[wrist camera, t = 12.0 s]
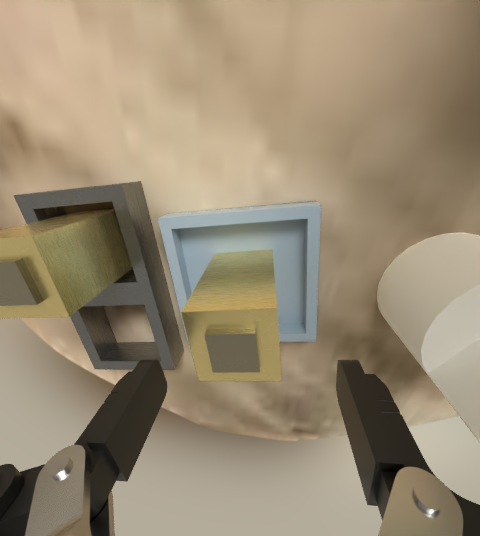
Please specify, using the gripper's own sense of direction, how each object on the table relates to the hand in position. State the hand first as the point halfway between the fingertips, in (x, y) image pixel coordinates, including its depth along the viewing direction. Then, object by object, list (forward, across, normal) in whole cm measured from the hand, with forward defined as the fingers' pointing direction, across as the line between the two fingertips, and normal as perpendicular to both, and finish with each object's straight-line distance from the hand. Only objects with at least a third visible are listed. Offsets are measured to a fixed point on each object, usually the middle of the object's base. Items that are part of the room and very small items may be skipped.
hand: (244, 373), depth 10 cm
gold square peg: (+9, +1, 0) cm, 9 cm away
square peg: (+10, +12, -4) cm, 16 cm away
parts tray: (+10, +1, 0) cm, 10 cm away
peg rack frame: (+10, +12, 0) cm, 15 cm away
